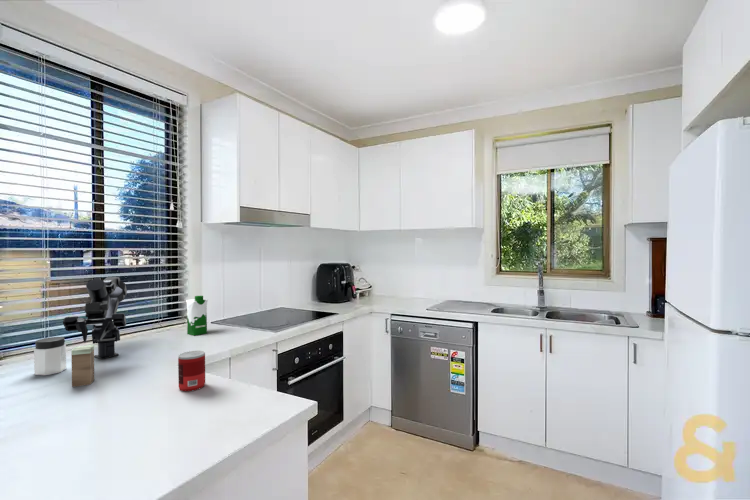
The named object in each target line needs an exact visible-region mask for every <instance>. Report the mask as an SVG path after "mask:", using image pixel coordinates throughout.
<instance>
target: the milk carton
mask: <svg viewBox="0 0 750 500" xmlns="http://www.w3.org/2000/svg"><path fill="white" fill-rule="evenodd" d="M208 300H209V299H206V298H204V295H195V296H194V299H185V301H186V307H187V308H186V309H187V311H186V314H187V317H186V318H187V319H186V320H187V327H186V328H187V329H186V330H187V331H186V334H187V335H190V336H200V335H205V334H208V319H207V318H208V312H207V311H208Z"/></svg>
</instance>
